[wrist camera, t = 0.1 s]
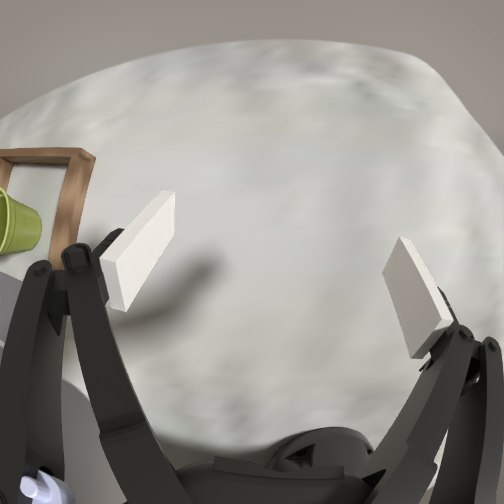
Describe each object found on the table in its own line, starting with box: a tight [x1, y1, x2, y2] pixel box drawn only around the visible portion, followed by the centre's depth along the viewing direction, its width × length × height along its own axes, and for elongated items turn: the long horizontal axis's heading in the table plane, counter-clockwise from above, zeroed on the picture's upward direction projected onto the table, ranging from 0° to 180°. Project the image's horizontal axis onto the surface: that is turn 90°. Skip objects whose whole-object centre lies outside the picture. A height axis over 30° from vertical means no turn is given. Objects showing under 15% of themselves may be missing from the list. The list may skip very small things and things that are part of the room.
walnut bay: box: [0, 147, 96, 270], centre depth 29 cm, size 17×20×4 cm
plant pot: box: [0, 187, 42, 256], centre depth 27 cm, size 9×9×9 cm
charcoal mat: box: [0, 272, 23, 342], centre depth 31 cm, size 12×14×1 cm
